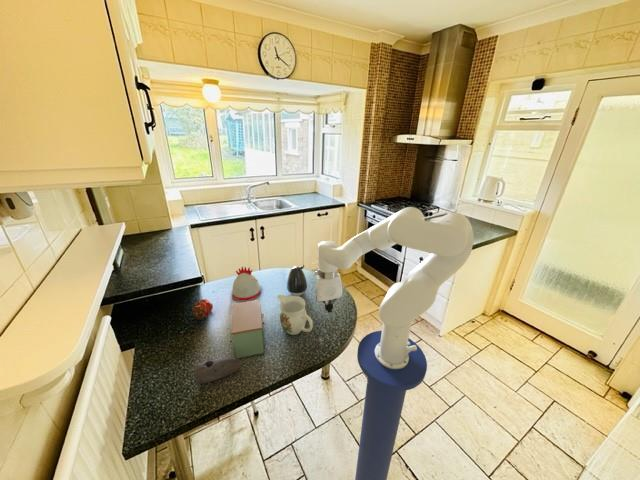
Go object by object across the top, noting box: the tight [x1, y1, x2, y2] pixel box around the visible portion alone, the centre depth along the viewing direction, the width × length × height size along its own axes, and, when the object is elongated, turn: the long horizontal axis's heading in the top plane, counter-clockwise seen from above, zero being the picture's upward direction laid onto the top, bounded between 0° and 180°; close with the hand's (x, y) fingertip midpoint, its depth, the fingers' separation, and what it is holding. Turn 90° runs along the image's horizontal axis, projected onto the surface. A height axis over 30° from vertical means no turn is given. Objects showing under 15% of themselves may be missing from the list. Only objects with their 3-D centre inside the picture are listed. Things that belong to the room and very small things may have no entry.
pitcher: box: [277, 294, 314, 336], centre depth 104 cm, size 11×18×14 cm, turn 53°
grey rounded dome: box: [231, 266, 262, 302], centre depth 128 cm, size 14×14×15 cm
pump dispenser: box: [286, 264, 308, 297], centre depth 128 cm, size 10×10×15 cm
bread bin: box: [230, 299, 266, 359], centre depth 100 cm, size 12×17×13 cm
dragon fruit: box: [191, 298, 214, 321], centre depth 114 cm, size 8×8×12 cm
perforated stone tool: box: [192, 357, 243, 385], centre depth 86 cm, size 15×5×7 cm, turn 110°
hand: (329, 310), depth 106 cm, fingers closed
